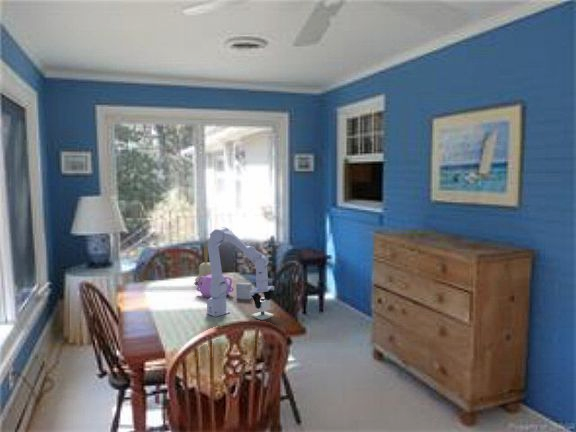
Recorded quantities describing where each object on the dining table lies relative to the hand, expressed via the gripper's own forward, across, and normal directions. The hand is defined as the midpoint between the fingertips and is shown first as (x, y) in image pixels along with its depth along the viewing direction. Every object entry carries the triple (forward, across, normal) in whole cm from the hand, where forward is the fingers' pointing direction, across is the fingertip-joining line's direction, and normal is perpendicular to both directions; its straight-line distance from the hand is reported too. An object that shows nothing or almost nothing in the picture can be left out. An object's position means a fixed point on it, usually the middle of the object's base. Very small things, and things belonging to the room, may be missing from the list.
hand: (262, 306), depth 233 cm
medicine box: (+5, +14, +32) cm, 35 cm away
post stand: (+5, 0, 0) cm, 5 cm away
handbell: (+5, +21, +80) cm, 83 cm away
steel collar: (+1, 0, 0) cm, 1 cm away
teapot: (+5, +8, +51) cm, 52 cm away
